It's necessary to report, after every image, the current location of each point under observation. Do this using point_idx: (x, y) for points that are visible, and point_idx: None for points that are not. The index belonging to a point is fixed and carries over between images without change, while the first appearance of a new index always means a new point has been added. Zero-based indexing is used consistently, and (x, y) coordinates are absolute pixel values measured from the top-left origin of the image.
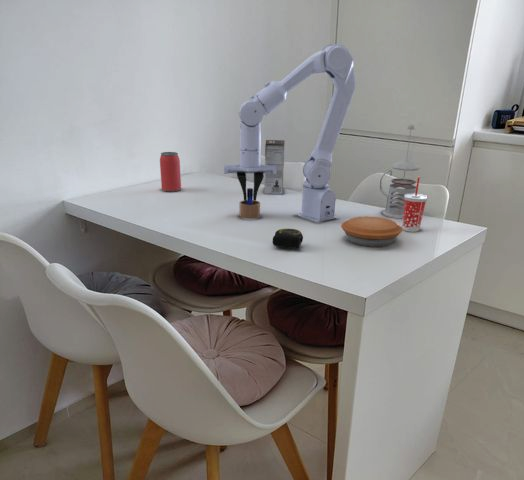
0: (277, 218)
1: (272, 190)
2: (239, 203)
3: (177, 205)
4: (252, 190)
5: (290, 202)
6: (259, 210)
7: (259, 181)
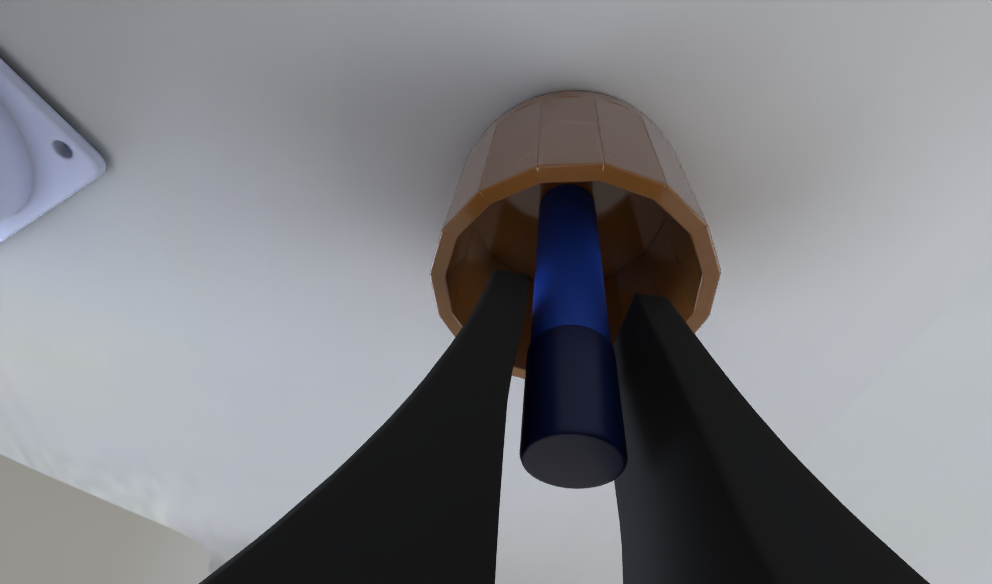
0: (279, 104)
1: None
2: (707, 306)
3: (953, 533)
4: (533, 416)
5: (222, 452)
6: (462, 178)
7: (333, 545)
